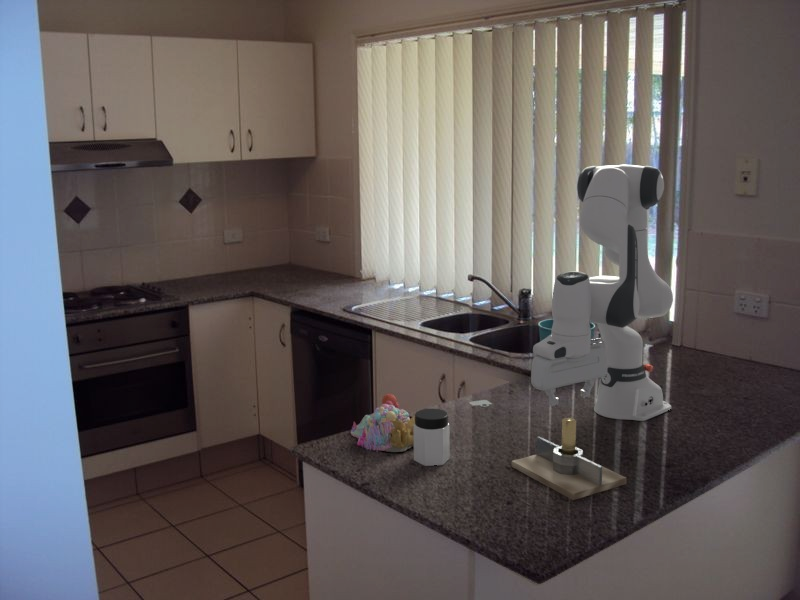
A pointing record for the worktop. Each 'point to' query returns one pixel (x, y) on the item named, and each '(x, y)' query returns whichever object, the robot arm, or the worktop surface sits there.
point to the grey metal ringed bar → (569, 462)
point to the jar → (431, 437)
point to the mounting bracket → (480, 403)
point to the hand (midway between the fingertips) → (569, 401)
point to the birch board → (566, 478)
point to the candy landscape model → (386, 428)
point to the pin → (568, 436)
